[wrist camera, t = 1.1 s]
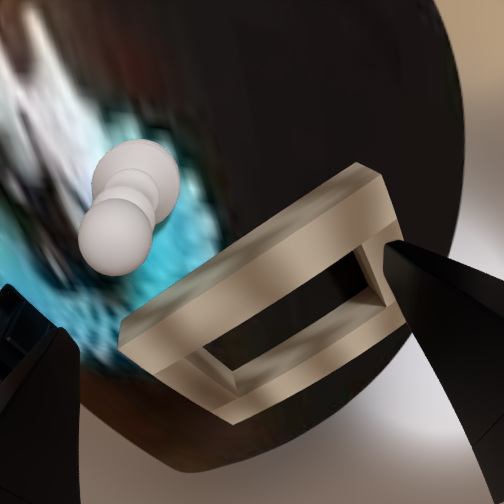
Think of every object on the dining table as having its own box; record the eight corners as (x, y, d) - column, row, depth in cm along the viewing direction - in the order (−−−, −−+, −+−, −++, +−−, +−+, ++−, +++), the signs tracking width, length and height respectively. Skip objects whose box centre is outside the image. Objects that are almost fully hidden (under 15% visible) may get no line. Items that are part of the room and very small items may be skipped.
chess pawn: (176, 132, 16) (173, 168, 9) (184, 214, 19) (192, 306, 11) (91, 146, 16) (24, 196, 8) (106, 225, 18) (67, 320, 10)
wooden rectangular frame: (227, 400, 29) (233, 424, 26) (121, 320, 22) (117, 349, 19) (403, 290, 27) (421, 309, 24) (356, 162, 20) (380, 174, 17)
